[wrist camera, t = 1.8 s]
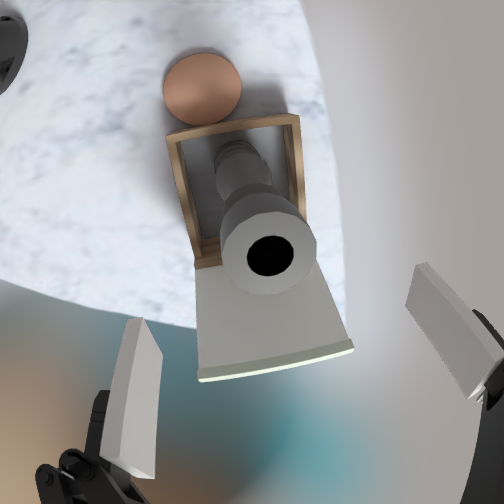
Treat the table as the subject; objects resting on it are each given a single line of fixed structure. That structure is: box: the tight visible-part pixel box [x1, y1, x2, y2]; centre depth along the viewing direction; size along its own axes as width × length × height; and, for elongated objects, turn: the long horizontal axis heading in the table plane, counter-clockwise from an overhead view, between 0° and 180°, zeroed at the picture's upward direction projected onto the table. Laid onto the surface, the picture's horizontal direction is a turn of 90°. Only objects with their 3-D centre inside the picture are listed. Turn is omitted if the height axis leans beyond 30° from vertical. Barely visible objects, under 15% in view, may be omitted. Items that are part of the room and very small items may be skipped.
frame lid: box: [195, 259, 354, 382], centre depth 33 cm, size 4×16×15 cm, turn 97°
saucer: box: [163, 53, 241, 125], centre depth 31 cm, size 10×10×1 cm
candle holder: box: [214, 140, 316, 295], centre depth 27 cm, size 6×6×25 cm
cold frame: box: [166, 113, 307, 270], centre depth 36 cm, size 25×16×12 cm, turn 7°
